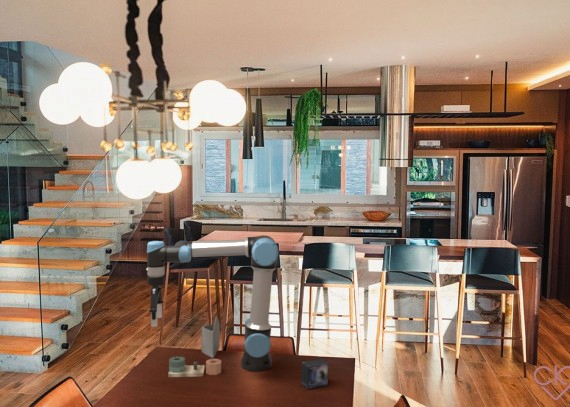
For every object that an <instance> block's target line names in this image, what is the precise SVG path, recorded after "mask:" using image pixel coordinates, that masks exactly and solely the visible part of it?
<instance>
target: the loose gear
mask: <svg viewBox="0 0 570 407" xmlns="http://www.w3.org/2000/svg"><path fill="white" fill-rule="evenodd" d="M205 373H206V374H207V375H209V376H217V375H219V374H222V360H221V359H219V358H210V359H207V360H206V361H205Z"/></svg>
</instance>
